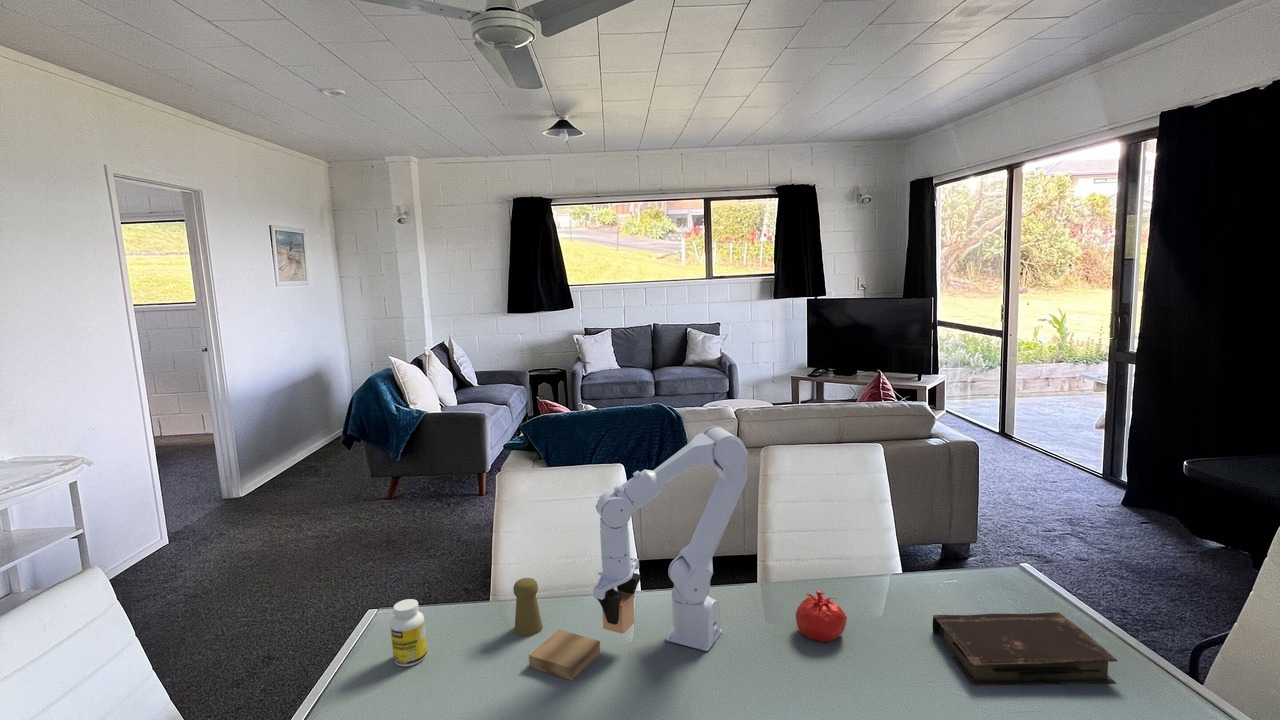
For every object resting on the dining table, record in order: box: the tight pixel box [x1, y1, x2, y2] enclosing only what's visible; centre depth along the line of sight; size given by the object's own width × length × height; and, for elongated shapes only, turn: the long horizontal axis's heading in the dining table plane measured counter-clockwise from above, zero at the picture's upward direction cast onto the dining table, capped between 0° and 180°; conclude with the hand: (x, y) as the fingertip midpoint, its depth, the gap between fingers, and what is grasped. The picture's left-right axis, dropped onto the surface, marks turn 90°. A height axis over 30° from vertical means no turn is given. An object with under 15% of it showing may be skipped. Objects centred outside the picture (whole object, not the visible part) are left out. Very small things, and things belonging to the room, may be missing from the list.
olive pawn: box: [512, 577, 544, 637], centre depth 141 cm, size 6×6×11 cm
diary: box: [932, 611, 1118, 687], centre depth 124 cm, size 19×25×5 cm
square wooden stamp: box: [601, 589, 636, 635], centre depth 132 cm, size 5×5×6 cm
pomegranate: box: [795, 589, 847, 643], centre depth 134 cm, size 10×10×9 cm
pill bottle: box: [389, 598, 428, 667], centre depth 132 cm, size 6×6×12 cm
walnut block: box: [528, 629, 601, 681], centre depth 129 cm, size 10×10×2 cm
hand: (619, 616), depth 132 cm, fingers closed on square wooden stamp, 5 cm apart
